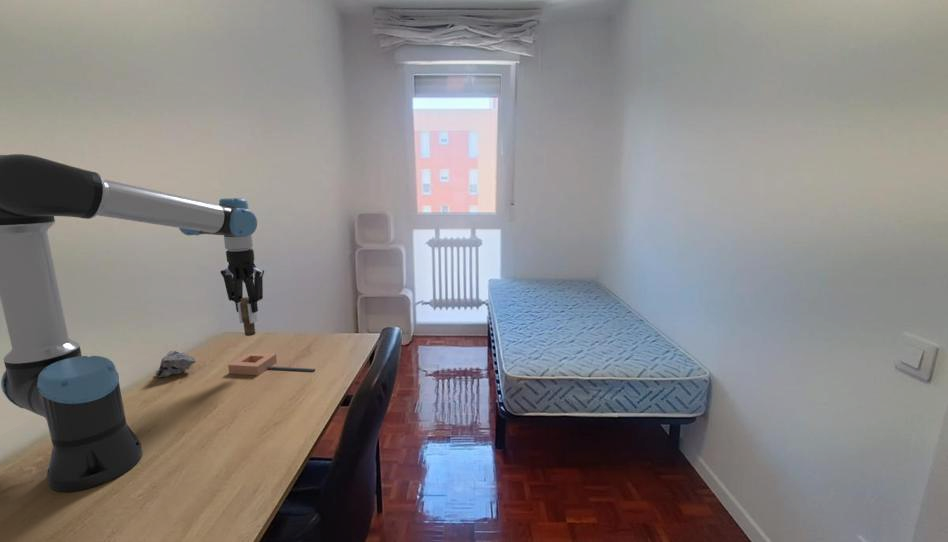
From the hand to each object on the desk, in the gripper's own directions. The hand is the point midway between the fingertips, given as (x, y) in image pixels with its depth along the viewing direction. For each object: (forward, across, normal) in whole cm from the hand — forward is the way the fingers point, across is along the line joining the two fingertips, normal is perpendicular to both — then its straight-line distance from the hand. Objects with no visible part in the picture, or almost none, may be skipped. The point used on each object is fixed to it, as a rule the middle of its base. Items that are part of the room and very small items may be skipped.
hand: (248, 321), depth 136 cm
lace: (+16, -13, 0) cm, 20 cm away
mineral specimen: (+16, +22, +7) cm, 28 cm away
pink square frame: (+16, 0, 0) cm, 16 cm away
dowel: (+4, 0, 0) cm, 4 cm away
